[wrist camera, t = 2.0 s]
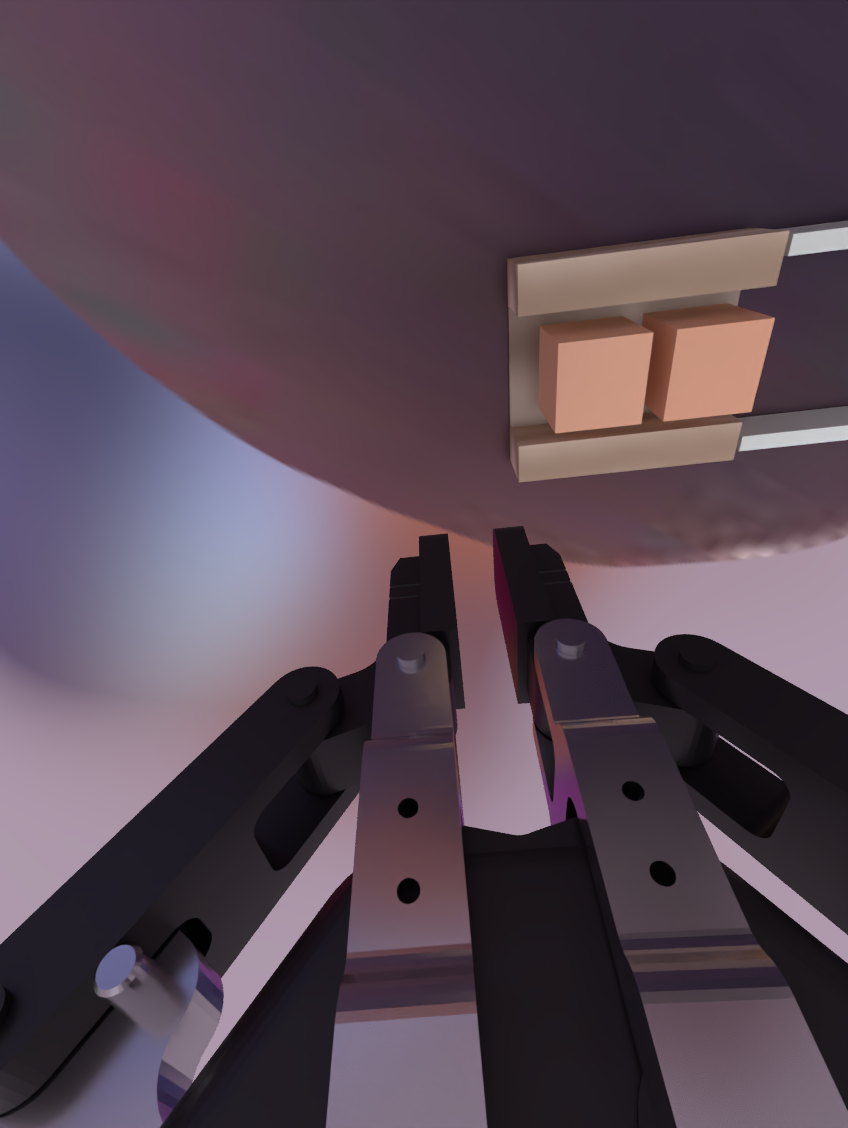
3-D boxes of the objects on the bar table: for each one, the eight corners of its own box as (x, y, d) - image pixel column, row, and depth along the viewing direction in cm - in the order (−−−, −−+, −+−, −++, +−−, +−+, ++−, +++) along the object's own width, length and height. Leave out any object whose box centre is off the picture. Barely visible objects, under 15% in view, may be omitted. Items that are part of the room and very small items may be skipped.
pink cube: (539, 325, 25) (558, 343, 22) (622, 315, 25) (653, 332, 22) (538, 406, 28) (555, 433, 24) (614, 397, 27) (641, 424, 24)
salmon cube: (643, 312, 25) (677, 329, 22) (727, 302, 25) (775, 317, 22) (633, 395, 27) (663, 421, 24) (710, 386, 27) (751, 412, 24)
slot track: (507, 258, 24) (517, 264, 22) (750, 227, 23) (789, 230, 21) (510, 459, 30) (518, 482, 27) (706, 438, 29) (733, 459, 27)
